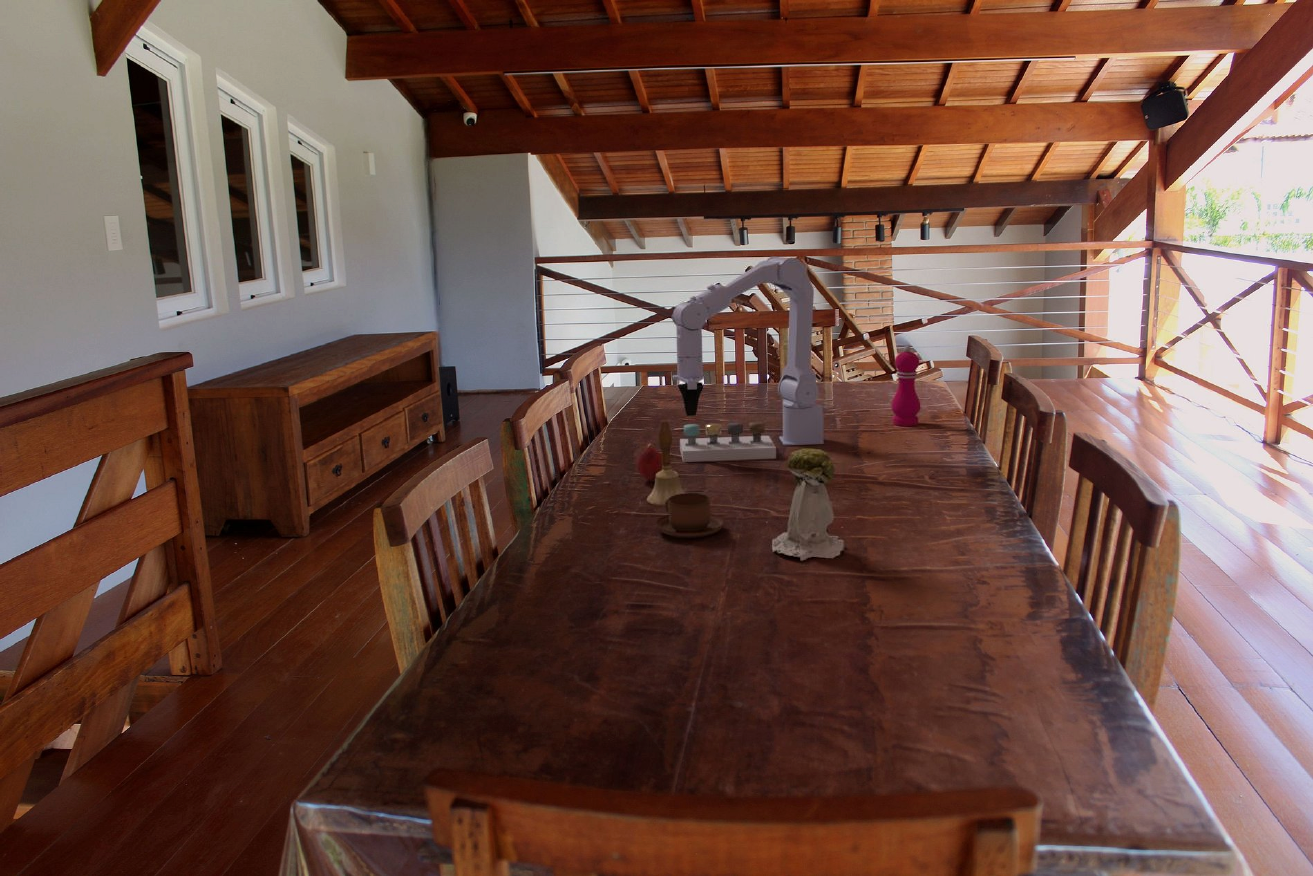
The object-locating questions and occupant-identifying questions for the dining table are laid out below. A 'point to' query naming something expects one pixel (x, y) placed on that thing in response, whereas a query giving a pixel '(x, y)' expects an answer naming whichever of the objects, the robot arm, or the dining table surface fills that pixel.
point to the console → (727, 449)
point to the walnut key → (756, 430)
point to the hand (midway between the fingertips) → (691, 415)
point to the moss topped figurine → (809, 508)
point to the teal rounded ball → (691, 433)
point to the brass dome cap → (713, 432)
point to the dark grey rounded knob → (735, 431)
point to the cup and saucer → (689, 517)
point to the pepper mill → (906, 389)
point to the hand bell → (665, 471)
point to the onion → (649, 463)
